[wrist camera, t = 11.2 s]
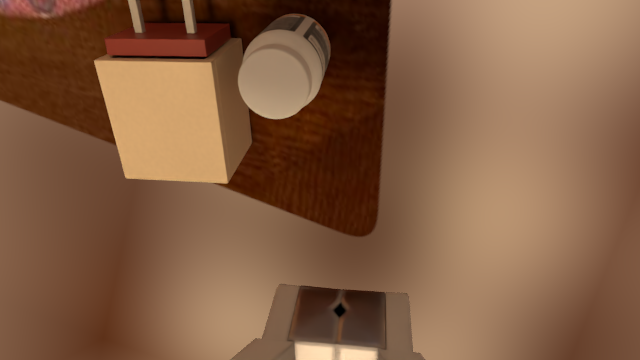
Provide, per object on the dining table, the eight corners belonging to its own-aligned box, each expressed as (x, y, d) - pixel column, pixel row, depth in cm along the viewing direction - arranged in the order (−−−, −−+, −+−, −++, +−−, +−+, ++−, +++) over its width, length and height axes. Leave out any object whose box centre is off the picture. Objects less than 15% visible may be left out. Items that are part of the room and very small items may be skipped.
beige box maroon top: (143, 36, 38) (93, 60, 31) (241, 37, 37) (211, 62, 30) (165, 139, 42) (125, 178, 36) (252, 142, 41) (227, 183, 35)
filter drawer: (128, -42, 34) (84, -36, 29) (222, -43, 33) (193, -37, 28) (162, 119, 40) (131, 147, 35) (240, 122, 40) (220, 150, 35)
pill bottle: (257, 69, 38) (221, 112, 29) (273, 1, 35) (237, 26, 26) (320, 90, 38) (302, 138, 30) (341, 25, 35) (328, 57, 27)
